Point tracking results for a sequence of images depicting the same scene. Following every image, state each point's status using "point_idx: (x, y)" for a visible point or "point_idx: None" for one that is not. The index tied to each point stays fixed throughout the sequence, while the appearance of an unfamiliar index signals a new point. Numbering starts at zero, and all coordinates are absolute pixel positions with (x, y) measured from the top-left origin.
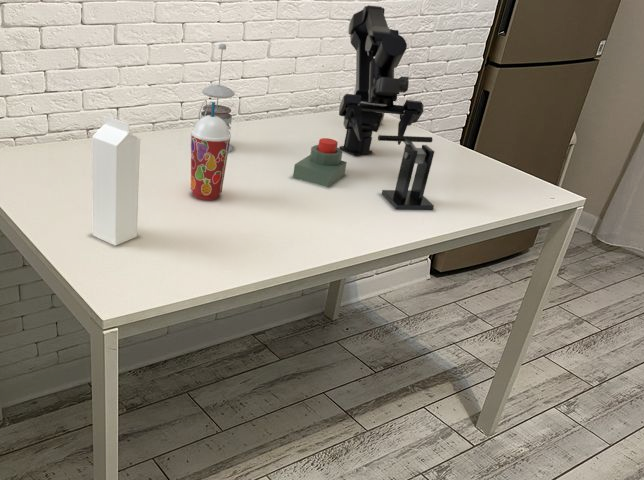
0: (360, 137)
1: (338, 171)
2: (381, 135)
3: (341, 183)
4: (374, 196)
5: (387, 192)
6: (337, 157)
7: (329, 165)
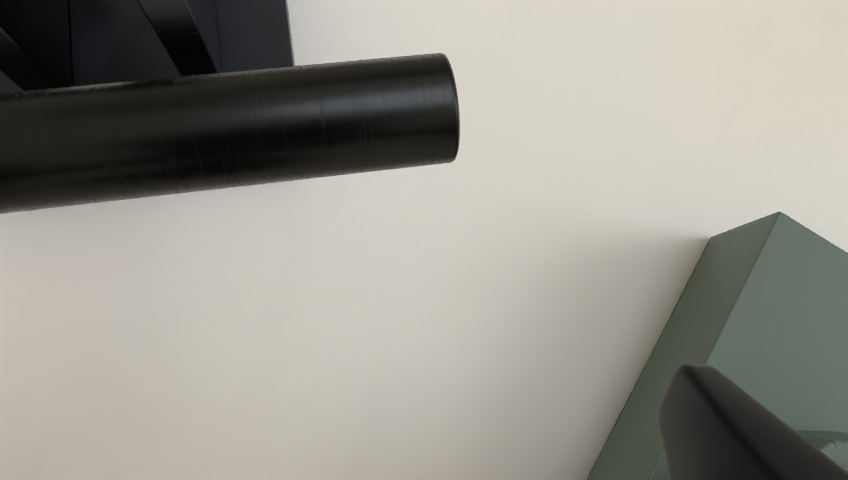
0: (715, 369)
1: None
2: (410, 86)
3: (591, 356)
4: None
5: None
6: None
7: None
